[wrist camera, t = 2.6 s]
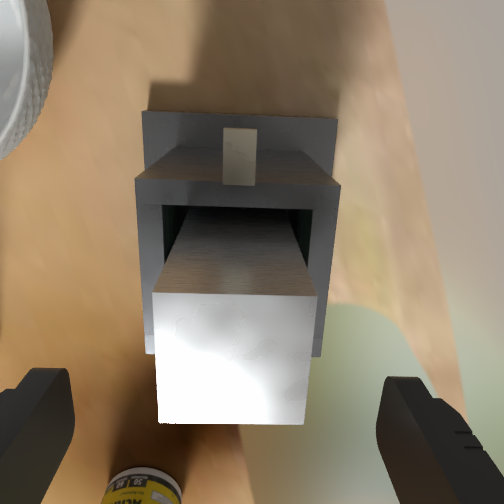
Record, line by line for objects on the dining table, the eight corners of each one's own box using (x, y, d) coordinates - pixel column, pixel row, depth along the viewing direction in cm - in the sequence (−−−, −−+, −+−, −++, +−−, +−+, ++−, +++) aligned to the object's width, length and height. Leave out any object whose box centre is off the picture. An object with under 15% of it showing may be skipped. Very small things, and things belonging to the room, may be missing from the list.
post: (202, 175, 26) (148, 288, 11) (275, 178, 26) (321, 293, 11) (202, 244, 27) (155, 425, 12) (270, 246, 27) (306, 427, 12)
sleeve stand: (146, 110, 26) (69, 122, 14) (332, 117, 26) (406, 136, 15) (155, 280, 30) (101, 397, 19) (315, 284, 31) (360, 401, 19)
